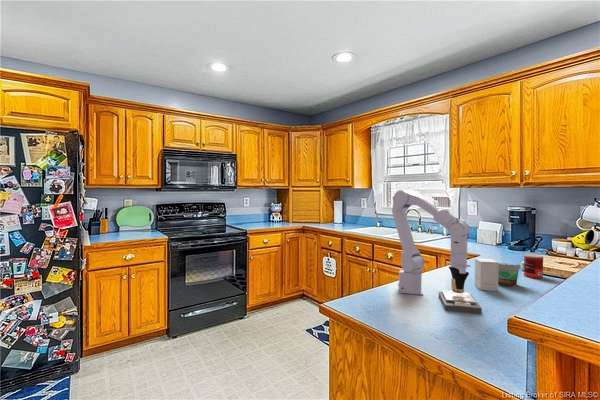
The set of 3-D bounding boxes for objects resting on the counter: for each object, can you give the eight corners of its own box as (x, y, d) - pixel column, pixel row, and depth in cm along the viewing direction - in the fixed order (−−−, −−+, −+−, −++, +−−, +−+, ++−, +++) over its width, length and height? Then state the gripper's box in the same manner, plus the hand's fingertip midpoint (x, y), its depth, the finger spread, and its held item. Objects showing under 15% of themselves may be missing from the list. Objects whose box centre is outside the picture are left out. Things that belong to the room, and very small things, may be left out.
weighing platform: (446, 300, 117) (446, 299, 117) (441, 291, 127) (441, 290, 127) (476, 303, 114) (476, 302, 114) (468, 293, 124) (468, 292, 124)
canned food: (541, 275, 157) (542, 254, 157) (543, 279, 151) (544, 257, 150) (523, 273, 161) (523, 252, 161) (524, 277, 155) (524, 255, 154)
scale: (445, 310, 114) (445, 301, 114) (438, 296, 128) (438, 288, 128) (481, 313, 110) (481, 305, 110) (471, 299, 125) (471, 291, 125)
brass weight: (453, 292, 119) (453, 281, 119) (449, 289, 123) (450, 278, 123) (465, 293, 118) (465, 281, 118) (461, 289, 122) (462, 278, 122)
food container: (491, 285, 142) (492, 263, 142) (489, 281, 148) (489, 261, 147) (523, 288, 138) (524, 266, 137) (519, 284, 143) (520, 263, 143)
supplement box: (498, 291, 134) (499, 262, 134) (479, 290, 136) (480, 261, 135) (491, 285, 142) (492, 258, 141) (474, 284, 143) (474, 257, 143)
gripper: (475, 257, 112) (474, 294, 112) (465, 249, 126) (465, 282, 126) (453, 256, 114) (453, 292, 114) (446, 248, 128) (446, 281, 128)
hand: (458, 287), depth 120 cm, fingers closed on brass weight, 4 cm apart
